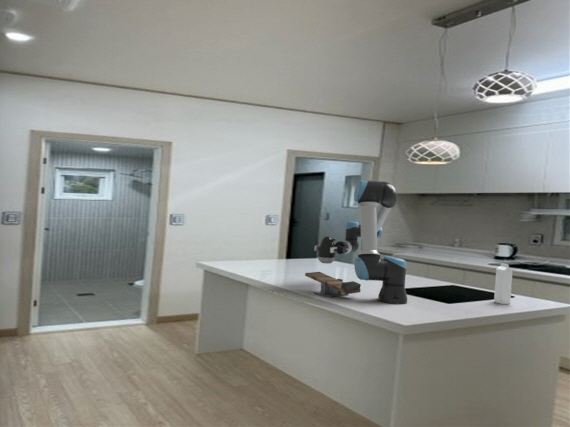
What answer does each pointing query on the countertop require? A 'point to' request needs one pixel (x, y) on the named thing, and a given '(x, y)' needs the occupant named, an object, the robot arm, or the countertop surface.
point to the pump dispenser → (326, 250)
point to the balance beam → (335, 283)
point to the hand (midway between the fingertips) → (322, 249)
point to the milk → (503, 284)
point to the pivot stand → (329, 291)
